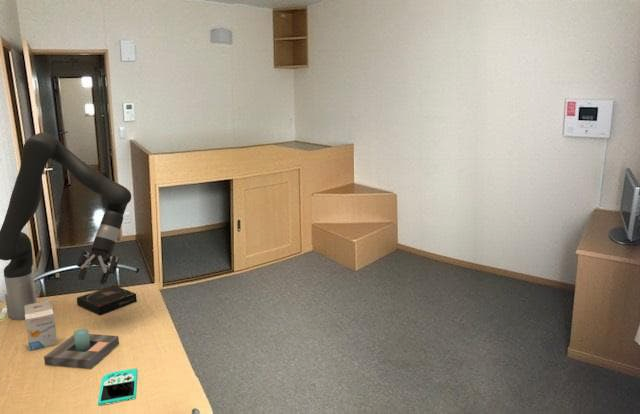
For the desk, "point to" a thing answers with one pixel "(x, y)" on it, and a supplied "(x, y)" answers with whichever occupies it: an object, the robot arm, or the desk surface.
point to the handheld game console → (118, 386)
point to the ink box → (40, 325)
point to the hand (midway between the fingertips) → (91, 281)
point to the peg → (82, 340)
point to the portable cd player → (106, 300)
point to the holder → (72, 358)
